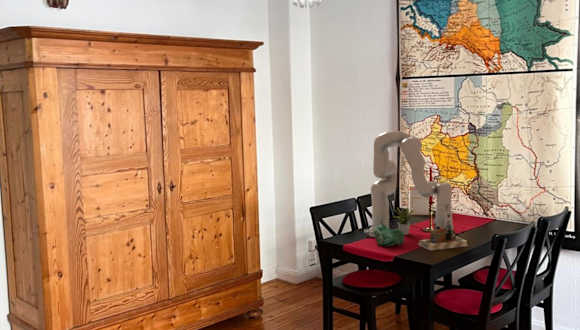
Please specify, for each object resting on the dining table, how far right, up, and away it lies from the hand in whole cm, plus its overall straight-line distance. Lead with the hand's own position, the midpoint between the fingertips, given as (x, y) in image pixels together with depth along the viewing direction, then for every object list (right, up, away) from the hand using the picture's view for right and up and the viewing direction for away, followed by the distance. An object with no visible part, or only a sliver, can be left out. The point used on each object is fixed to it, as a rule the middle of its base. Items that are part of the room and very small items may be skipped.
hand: (443, 238), depth 316 cm
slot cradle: (0, -4, 0) cm, 4 cm away
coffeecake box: (+5, +6, +77) cm, 77 cm away
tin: (0, -3, +1) cm, 4 cm away
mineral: (-28, -4, +4) cm, 29 cm away
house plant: (-16, -1, +25) cm, 29 cm away
